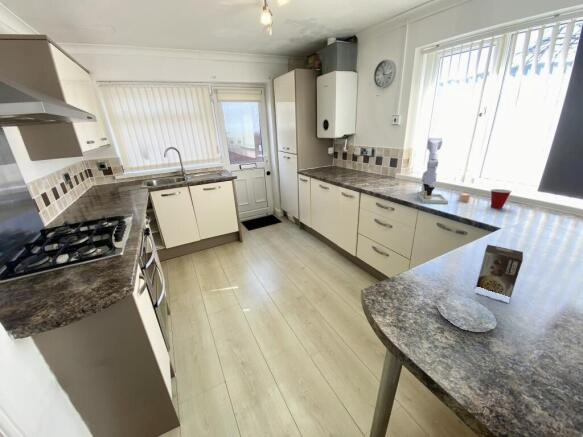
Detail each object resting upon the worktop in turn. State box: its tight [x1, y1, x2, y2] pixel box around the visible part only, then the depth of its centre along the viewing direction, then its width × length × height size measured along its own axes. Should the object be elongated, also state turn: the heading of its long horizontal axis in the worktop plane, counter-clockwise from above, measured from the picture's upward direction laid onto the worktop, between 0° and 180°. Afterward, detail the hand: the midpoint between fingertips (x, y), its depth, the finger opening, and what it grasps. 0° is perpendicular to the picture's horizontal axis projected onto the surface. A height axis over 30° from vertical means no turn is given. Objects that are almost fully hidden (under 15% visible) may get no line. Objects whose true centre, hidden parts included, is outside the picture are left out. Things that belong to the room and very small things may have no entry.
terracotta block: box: [458, 192, 470, 203], centre depth 178 cm, size 4×4×5 cm
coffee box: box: [475, 244, 524, 298], centre depth 79 cm, size 9×6×16 cm
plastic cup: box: [490, 188, 512, 210], centre depth 161 cm, size 11×11×12 cm
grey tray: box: [417, 192, 449, 205], centre depth 183 cm, size 18×16×2 cm
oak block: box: [424, 191, 433, 199], centre depth 185 cm, size 4×4×5 cm
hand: (427, 194), depth 185 cm, fingers open, 7 cm apart
